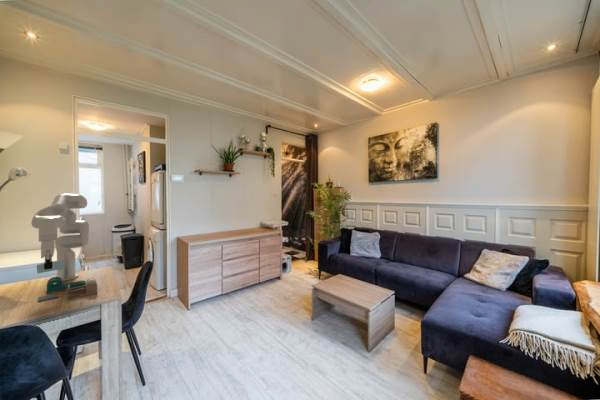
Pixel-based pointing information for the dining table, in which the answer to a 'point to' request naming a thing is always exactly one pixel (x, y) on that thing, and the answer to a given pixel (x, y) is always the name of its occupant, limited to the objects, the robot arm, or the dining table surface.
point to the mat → (48, 297)
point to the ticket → (55, 266)
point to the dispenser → (83, 289)
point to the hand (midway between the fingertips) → (48, 268)
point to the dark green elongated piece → (59, 285)
